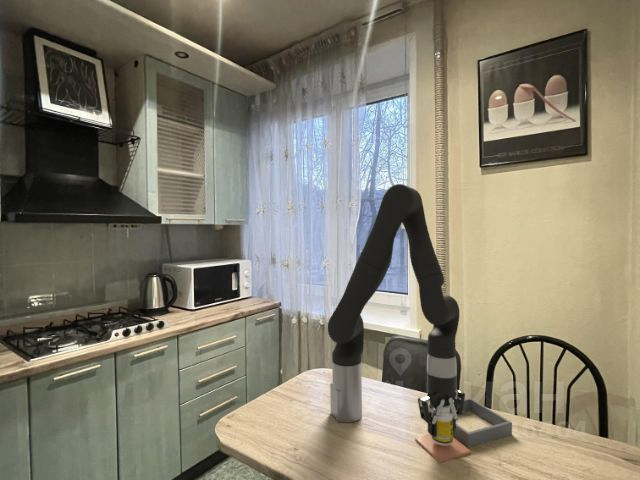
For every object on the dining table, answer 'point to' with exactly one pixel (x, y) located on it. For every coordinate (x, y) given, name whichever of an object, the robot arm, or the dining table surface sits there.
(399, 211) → the robot arm
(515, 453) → the dining table surface
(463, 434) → the bin
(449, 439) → the supplement bottle
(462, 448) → the tile
